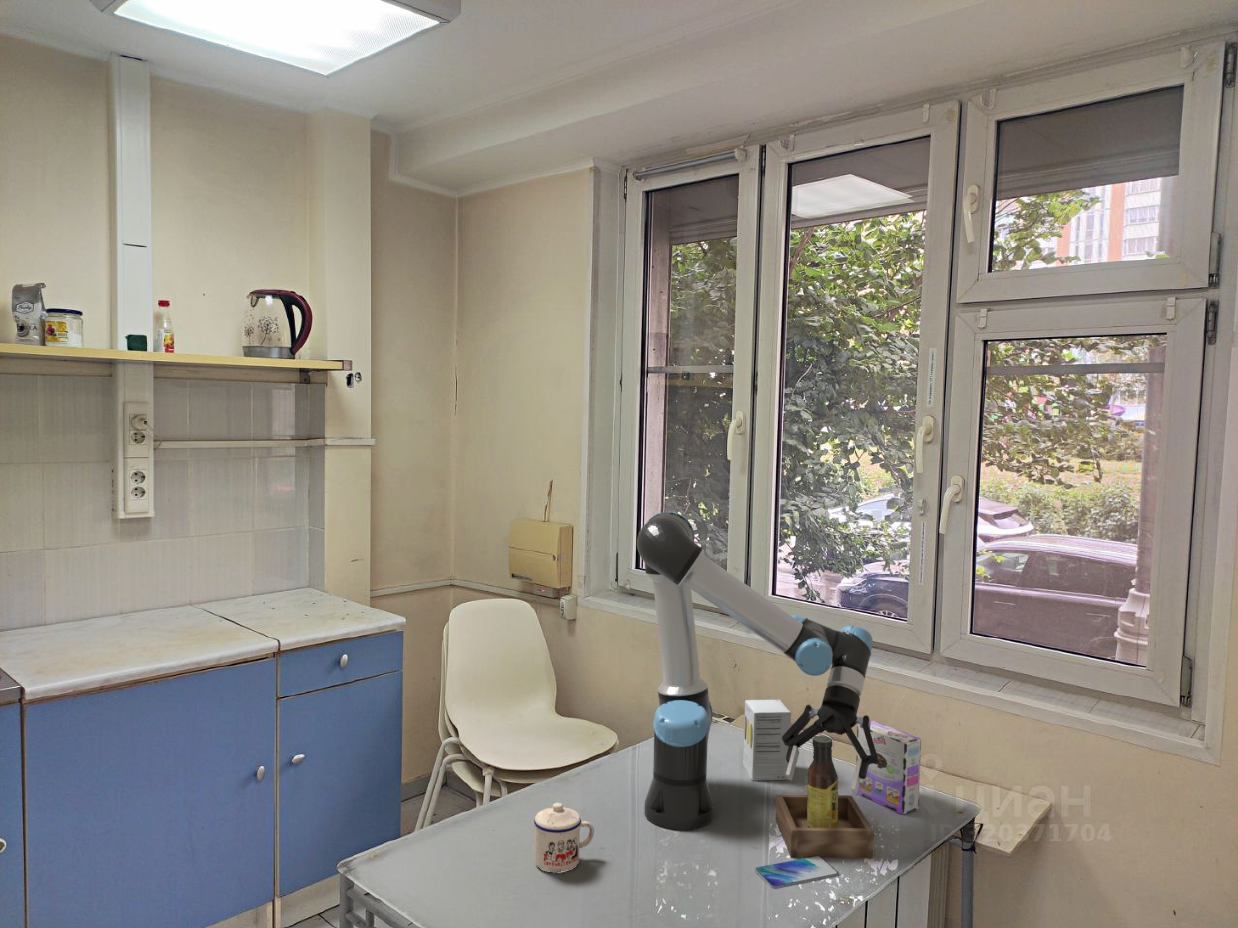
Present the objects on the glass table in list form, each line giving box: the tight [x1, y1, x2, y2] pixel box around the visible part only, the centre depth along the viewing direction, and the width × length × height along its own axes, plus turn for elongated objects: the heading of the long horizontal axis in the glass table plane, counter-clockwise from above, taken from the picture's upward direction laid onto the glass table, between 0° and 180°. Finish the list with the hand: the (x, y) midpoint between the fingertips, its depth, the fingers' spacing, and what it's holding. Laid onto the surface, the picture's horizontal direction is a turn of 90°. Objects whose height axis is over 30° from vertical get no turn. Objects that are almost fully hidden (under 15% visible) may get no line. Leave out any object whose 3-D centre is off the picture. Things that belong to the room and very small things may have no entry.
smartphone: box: [754, 856, 840, 890], centre depth 171 cm, size 7×1×15 cm
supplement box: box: [742, 699, 792, 782], centre depth 217 cm, size 10×9×17 cm
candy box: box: [855, 720, 922, 815], centre depth 202 cm, size 14×6×16 cm, turn 34°
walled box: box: [774, 794, 875, 859], centre depth 185 cm, size 16×16×6 cm
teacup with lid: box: [533, 802, 595, 872], centre depth 173 cm, size 12×9×12 cm
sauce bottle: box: [806, 735, 839, 828], centre depth 184 cm, size 6×6×20 cm
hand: (820, 784), depth 182 cm, fingers open, 13 cm apart
